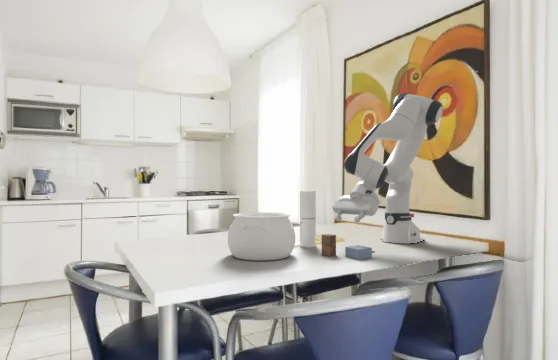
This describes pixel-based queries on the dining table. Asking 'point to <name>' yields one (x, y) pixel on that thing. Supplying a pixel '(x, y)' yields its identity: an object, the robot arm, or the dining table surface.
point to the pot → (261, 236)
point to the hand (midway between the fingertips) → (346, 220)
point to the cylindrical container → (308, 218)
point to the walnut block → (328, 244)
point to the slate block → (358, 252)
